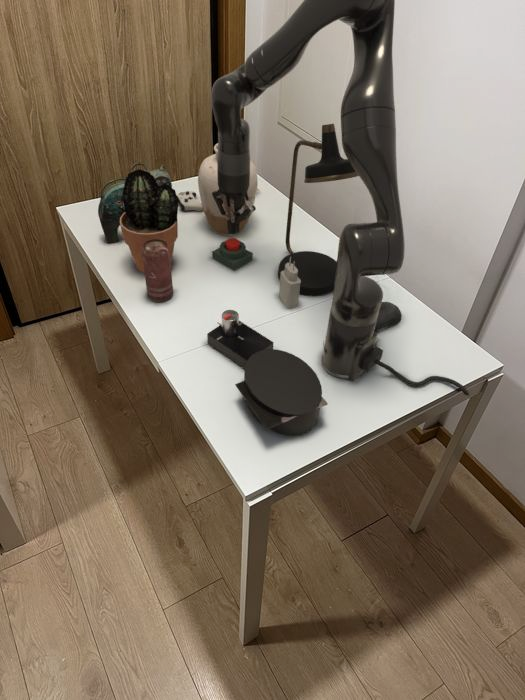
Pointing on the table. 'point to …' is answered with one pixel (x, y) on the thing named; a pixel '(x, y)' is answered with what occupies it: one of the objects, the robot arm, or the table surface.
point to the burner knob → (230, 323)
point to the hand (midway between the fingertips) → (233, 232)
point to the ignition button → (232, 244)
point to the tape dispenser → (282, 392)
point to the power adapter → (289, 286)
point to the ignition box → (232, 256)
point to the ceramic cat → (121, 203)
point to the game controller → (189, 201)
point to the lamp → (311, 265)
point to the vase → (210, 184)
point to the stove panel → (238, 343)
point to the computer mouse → (387, 316)
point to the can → (157, 270)
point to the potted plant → (148, 214)
